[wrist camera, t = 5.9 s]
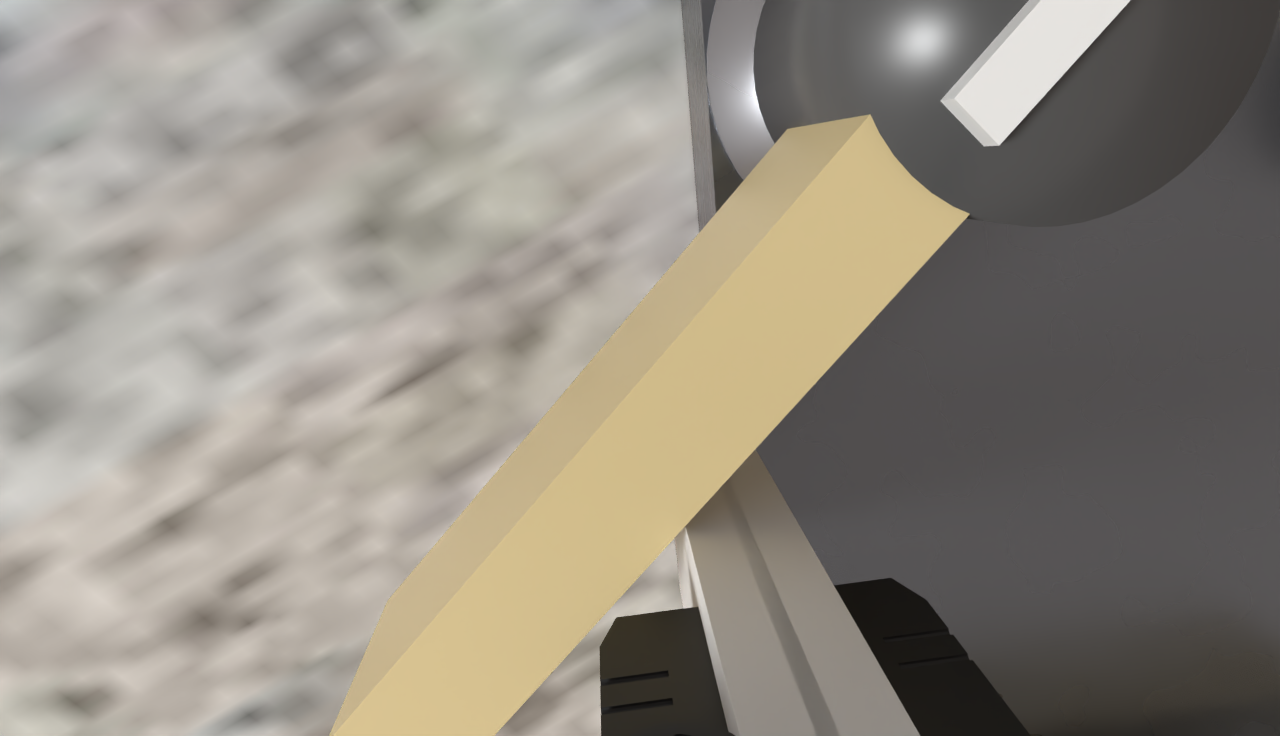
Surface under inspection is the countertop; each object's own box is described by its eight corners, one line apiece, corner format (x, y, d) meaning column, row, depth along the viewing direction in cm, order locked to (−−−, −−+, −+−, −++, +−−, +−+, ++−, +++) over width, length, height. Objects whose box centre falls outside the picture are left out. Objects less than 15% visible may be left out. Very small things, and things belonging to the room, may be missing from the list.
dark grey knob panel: (658, -293, 12) (674, -384, 10) (1710, -369, 13) (1913, -464, 11) (756, 966, 20) (777, 1056, 18) (1424, 856, 21) (1515, 930, 19)
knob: (898, -178, 11) (1123, -417, 6) (1091, 43, 12) (1401, -31, 8) (331, 519, 13) (202, 705, 9) (538, 655, 14) (520, 886, 10)
